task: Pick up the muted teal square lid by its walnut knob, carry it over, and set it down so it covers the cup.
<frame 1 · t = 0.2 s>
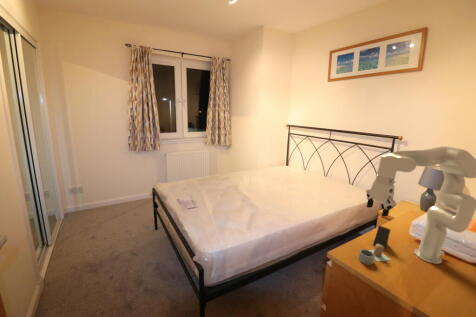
hand: (376, 211, 116), 30 cm above the dresser, tool pointing down, fingers open, 9 cm apart
lid: (377, 255, 130), on the dresser
phone stand: (380, 245, 142), on the dresser
cup: (365, 260, 125), on the dresser
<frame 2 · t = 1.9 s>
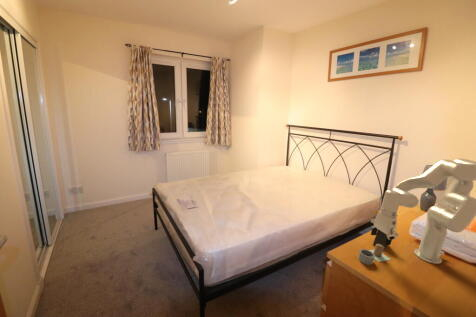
hand: (380, 239, 128), 10 cm above the dresser, tool pointing down, fingers open, 9 cm apart
nothing on the dresser moved.
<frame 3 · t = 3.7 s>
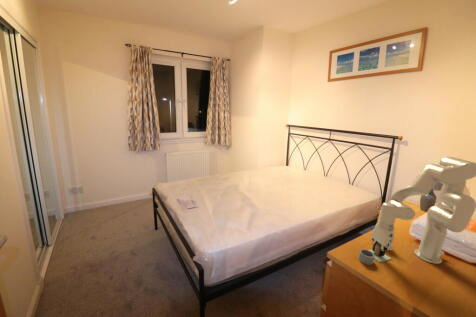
hand: (378, 252, 130), 2 cm above the dresser, tool pointing down, fingers closed on lid, 4 cm apart
lid: (377, 255, 130), on the dresser, touching gripper
everything else where it was.
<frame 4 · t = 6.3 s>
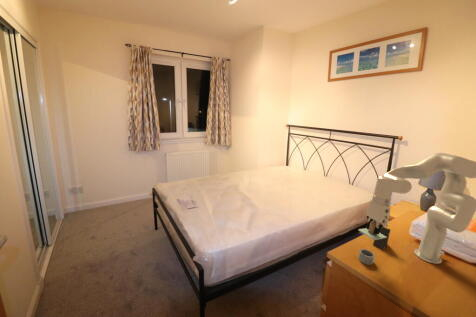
hand: (372, 231, 121), 18 cm above the dresser, tool pointing down, fingers closed on lid, 4 cm apart
lid: (372, 234, 122), point 16 cm above the dresser, touching gripper
everything else where it was.
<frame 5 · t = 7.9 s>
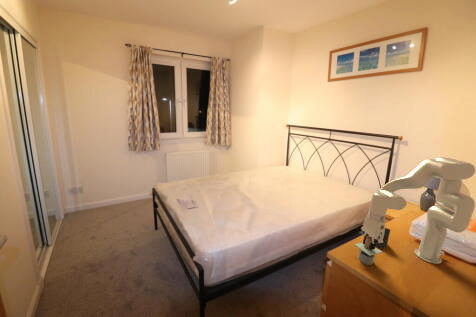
hand: (368, 246, 123), 9 cm above the dresser, tool pointing down, fingers closed on lid, 4 cm apart
lid: (367, 248, 123), point 7 cm above the dresser, touching gripper
everything else where it was.
when the fingers open (8 cm above the dresser, at t = 9.2 s): lid drops 1 cm, resting on cup.
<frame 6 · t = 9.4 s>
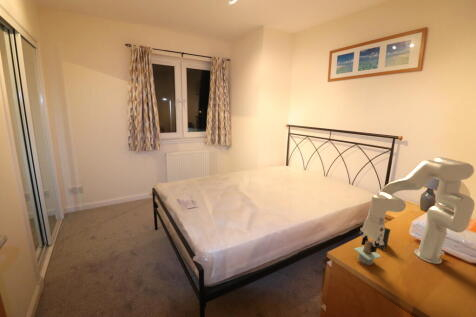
hand: (368, 247, 123), 8 cm above the dresser, tool pointing down, fingers open, 5 cm apart
lid: (367, 253, 124), point 4 cm above the dresser, touching cup
everything else where it was.
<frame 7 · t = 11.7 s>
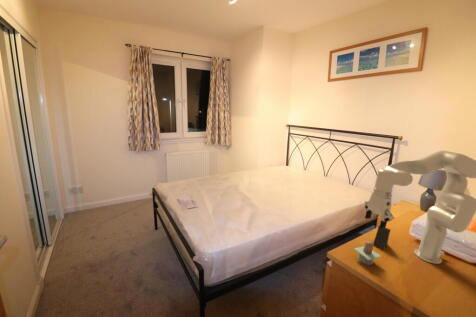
hand: (374, 222, 121), 22 cm above the dresser, tool pointing down, fingers open, 9 cm apart
nothing on the dresser moved.
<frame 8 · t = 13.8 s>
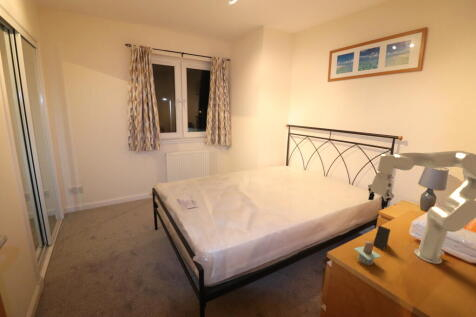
hand: (377, 203, 133), 28 cm above the dresser, tool pointing down, fingers open, 9 cm apart
nothing on the dresser moved.
at the end: lid 0.0 cm off-centre on the cup, point 4.5 cm above the cup's base; lid tilted 0°; the gripper is holding nothing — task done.
